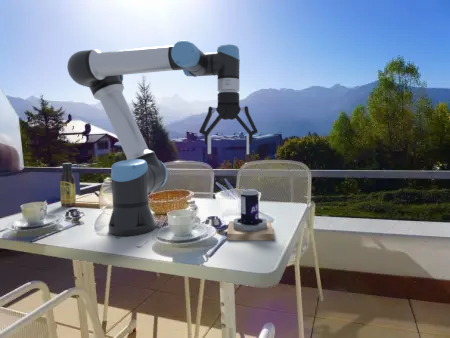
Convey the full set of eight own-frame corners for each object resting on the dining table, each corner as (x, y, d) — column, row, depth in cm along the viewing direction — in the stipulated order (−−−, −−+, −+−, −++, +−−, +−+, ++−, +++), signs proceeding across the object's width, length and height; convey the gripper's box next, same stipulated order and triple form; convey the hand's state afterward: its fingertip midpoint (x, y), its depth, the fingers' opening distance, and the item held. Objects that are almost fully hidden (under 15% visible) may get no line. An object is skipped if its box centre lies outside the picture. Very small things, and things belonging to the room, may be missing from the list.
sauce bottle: (57, 207, 148) (54, 163, 146) (68, 204, 154) (65, 162, 152) (69, 207, 146) (66, 163, 144) (79, 204, 152) (76, 162, 150)
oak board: (227, 240, 98) (227, 233, 97) (229, 226, 111) (229, 221, 111) (273, 240, 97) (273, 233, 96) (270, 227, 111) (270, 221, 110)
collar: (233, 231, 99) (233, 225, 99) (234, 222, 109) (234, 216, 109) (267, 232, 98) (267, 225, 98) (265, 222, 109) (265, 216, 108)
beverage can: (252, 230, 100) (252, 192, 99) (237, 227, 103) (237, 190, 102) (262, 226, 104) (261, 189, 103) (247, 223, 108) (246, 188, 107)
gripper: (190, 91, 109) (191, 154, 112) (265, 90, 107) (264, 154, 109) (195, 94, 117) (195, 153, 119) (264, 93, 114) (264, 153, 117)
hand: (228, 154), depth 114 cm, fingers open, 13 cm apart
